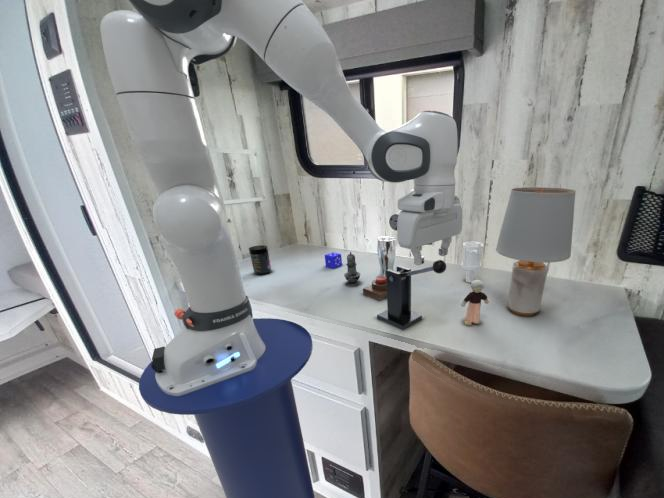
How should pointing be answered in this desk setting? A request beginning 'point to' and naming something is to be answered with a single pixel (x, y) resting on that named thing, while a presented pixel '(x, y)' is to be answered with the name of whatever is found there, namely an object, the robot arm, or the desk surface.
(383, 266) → the beer glass
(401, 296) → the bracket
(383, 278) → the button
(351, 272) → the grey tall figure
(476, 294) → the grandmother figurine
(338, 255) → the die
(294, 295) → the desk surface
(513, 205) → the lamp
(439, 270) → the lever
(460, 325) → the desk surface
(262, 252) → the supplement container
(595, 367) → the desk surface
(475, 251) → the clear tall cylinder
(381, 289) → the control block
